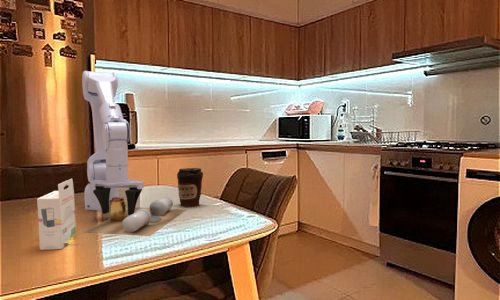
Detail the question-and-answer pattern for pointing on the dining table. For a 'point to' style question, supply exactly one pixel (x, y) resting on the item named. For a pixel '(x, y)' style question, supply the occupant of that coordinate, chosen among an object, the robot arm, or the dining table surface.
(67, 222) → the ink box
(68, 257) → the dining table surface
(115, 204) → the tan red-topped cylinder
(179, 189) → the coffee cup
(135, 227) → the pipe stubs
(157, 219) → the flange seat
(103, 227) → the board
